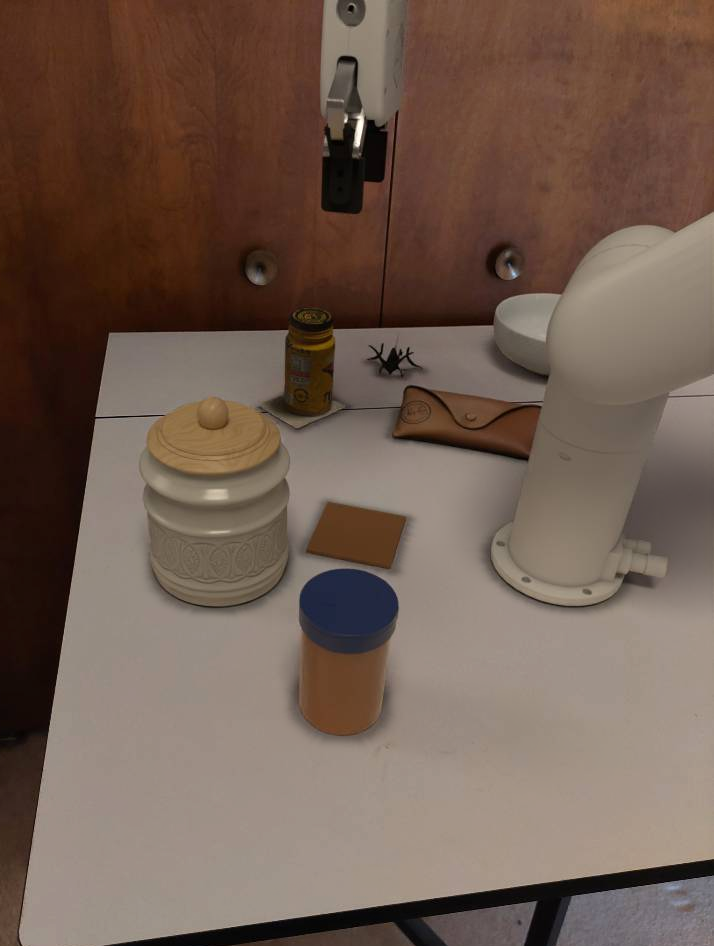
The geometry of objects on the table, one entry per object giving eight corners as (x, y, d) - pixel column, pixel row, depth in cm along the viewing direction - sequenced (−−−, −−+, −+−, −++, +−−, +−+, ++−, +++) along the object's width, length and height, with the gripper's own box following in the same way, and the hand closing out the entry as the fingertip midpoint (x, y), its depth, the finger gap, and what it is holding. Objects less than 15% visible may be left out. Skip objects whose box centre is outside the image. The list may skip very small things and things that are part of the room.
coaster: (405, 519, 83) (406, 516, 83) (390, 569, 77) (390, 566, 76) (327, 504, 85) (327, 501, 84) (306, 552, 78) (306, 549, 78)
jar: (160, 621, 70) (140, 449, 59) (144, 532, 80) (124, 371, 69) (303, 597, 73) (309, 429, 62) (270, 515, 83) (271, 357, 72)
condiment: (346, 407, 101) (352, 317, 94) (297, 430, 97) (299, 336, 89) (306, 386, 105) (309, 298, 98) (257, 407, 101) (256, 316, 93)
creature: (370, 363, 114) (357, 375, 107) (375, 325, 112) (362, 335, 105) (424, 372, 112) (415, 384, 105) (430, 333, 110) (421, 344, 103)
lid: (393, 587, 61) (395, 569, 60) (401, 655, 55) (403, 637, 54) (299, 584, 61) (300, 566, 60) (297, 652, 55) (298, 634, 54)
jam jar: (379, 672, 66) (391, 576, 60) (384, 736, 61) (398, 639, 55) (299, 669, 66) (303, 573, 60) (298, 734, 61) (301, 637, 55)
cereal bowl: (466, 344, 117) (474, 297, 112) (566, 333, 121) (577, 287, 117) (525, 399, 104) (536, 348, 100) (633, 384, 108) (649, 335, 104)
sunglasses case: (389, 436, 95) (399, 380, 94) (395, 437, 102) (404, 385, 101) (544, 461, 92) (556, 403, 91) (539, 461, 99) (550, 406, 98)
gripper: (401, -59, 48) (379, 230, 59) (437, -64, 62) (414, 174, 72) (282, -63, 50) (282, 221, 60) (342, -66, 63) (333, 167, 74)
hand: (354, 195), depth 66 cm, fingers open, 9 cm apart
